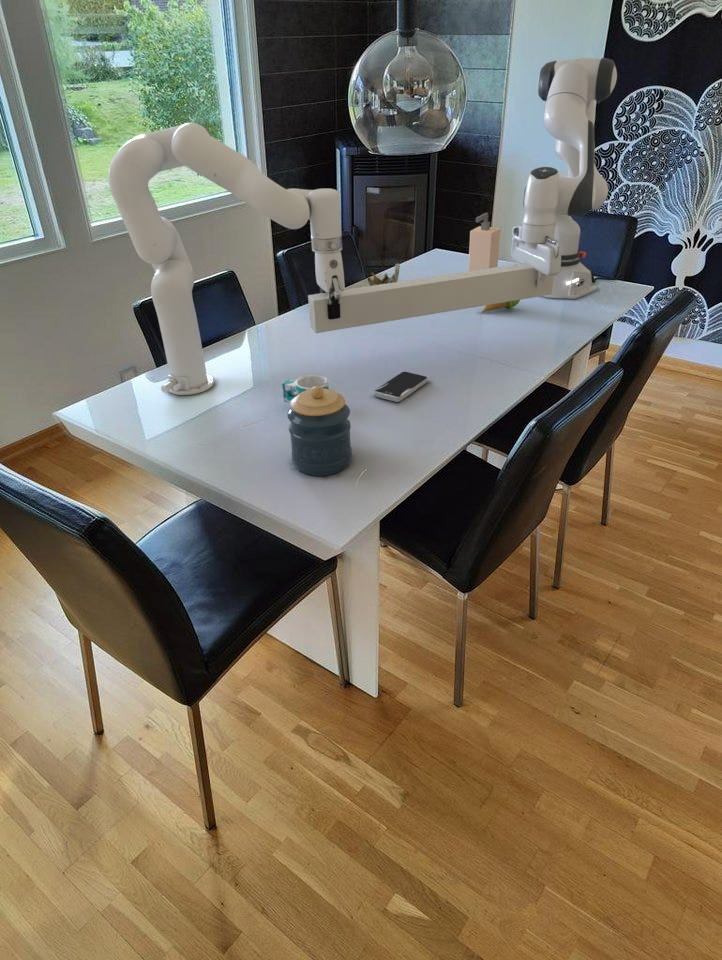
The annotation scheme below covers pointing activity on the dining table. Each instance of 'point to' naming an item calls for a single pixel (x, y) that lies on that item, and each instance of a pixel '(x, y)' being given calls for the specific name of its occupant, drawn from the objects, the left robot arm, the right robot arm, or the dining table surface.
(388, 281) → the gold crown
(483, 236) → the soap dispenser
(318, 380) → the mug
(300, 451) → the canister
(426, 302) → the post
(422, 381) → the smartphone
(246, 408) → the dining table surface
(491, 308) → the toy
